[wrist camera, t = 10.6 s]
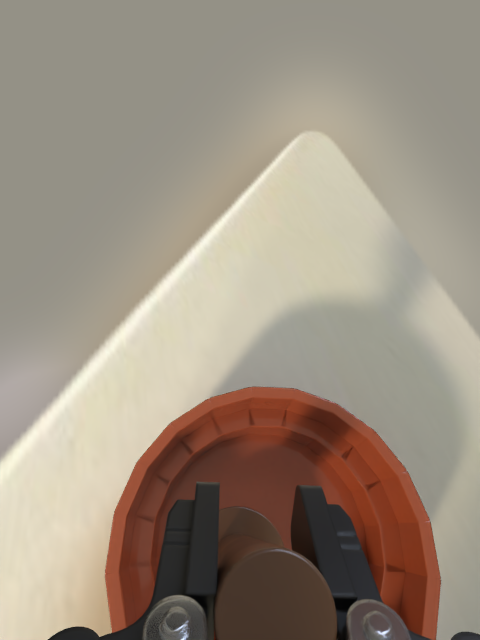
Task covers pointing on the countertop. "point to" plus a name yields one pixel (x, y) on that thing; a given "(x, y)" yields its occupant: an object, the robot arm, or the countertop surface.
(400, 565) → the bowl
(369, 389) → the countertop surface
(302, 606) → the masher
